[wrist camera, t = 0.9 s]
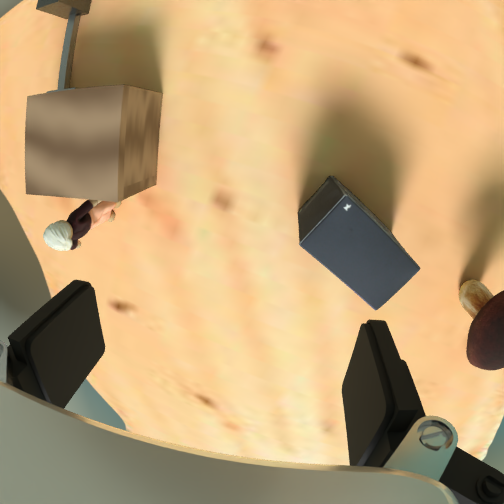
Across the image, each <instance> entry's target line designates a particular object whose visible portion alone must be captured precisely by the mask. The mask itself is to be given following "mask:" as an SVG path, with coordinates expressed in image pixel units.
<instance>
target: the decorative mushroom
mask: <svg viewBox="0 0 504 504" xmlns="http://www.w3.org/2000/svg"><path fill="white" fill-rule="evenodd" d="M459 300H460V302H461V305H462V306H463V307H464V309H465V310H466V311H467V312H468V313H469V314H470V315H471V317H472V318H473V319H474V320H473V321H472V323H471V326H470V329H469V333H468V340H467V351H466V352H467V358H468V360H469V362H470V363H471V364H472V365H474V366H476V367H478V368H481V369H485V370H497V369H501V368H504V291H501V292H500V293H498V294H497V295H495V296H493V295H492V293H491V292H490V291H489V290H488V289H487V288H486V287H485V286H484V285H483V284H482V283H481V282H480V281H477V280H468V281H466V282H464V283H463V285H462V286H461V288H460V291H459Z"/></svg>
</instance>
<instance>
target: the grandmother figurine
mask: <svg viewBox="0 0 504 504" xmlns="http://www.w3.org/2000/svg"><path fill="white" fill-rule="evenodd" d="M120 205H121V201H120V202H109V201H99V200H87V201H85V202H84V203H83V204H82V205H81V206H80V207H79V208H77V209H76V210H74V211H73V212H72V213H71V214H70V215H69V217H68V219H67V221H64V220H60V221H57V222H55V223H54V224H53V223H52V224H50V225H49V226H48V227H47V228H46V230H45V232H44V234H43V237H44V240H45V242H46V243H47V245H48V246H49V247H51V248H53V249H56V250H59V251H63V250H66V251H67V250H70V249H71V250H74V249H75V248H79V247H80V246H81V242H80V241H79V240H78V239H79V238H81V237H83V236H84V235H85V234H86V233H87V232H88V231H89V230H90V229H92V228H94V227H96V226H98V225H99V224H101V223H103V222H105V221H109V222H112V221H113V220H114V218H115V213H114V212H113V211H112V209H113V208H118V207H119V206H120Z"/></svg>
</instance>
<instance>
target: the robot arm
mask: <svg viewBox="0 0 504 504" xmlns="http://www.w3.org/2000/svg"><path fill="white" fill-rule="evenodd" d="M8 339H9V342H10V345H9V346H8V347H7V345H6V344H5V342H3V341H1V340H0V504H504V474H502V473H501V472H500V471H498V470H496V469H495V468H493V467H491V466H489V465H487V464H486V463H484V462H482V461H480V460H479V459H477V458H475V457H473V456H472V455H470V454H468V453H467V452H465V451H463V450H461V449H460V448H458V447H456V446H457V442H458V435H457V432H456V430H455V428H454V427H453V426H452V424H451V423H450V422H448V421H447V420H445V419H443V418H440V417H437V416H426V415H425V412H424V409H423V407H422V404H421V401H420V398H419V395H418V393H417V390H416V387H415V384H414V382H413V379H412V376H411V374H410V371H409V369H408V366H407V364H406V362H405V361H404V360H401V359H400V356H399V353H398V351H397V348H396V346H395V343H394V341H393V338H392V336H391V333H390V331H389V328H388V326H387V323H386V321H382V320H368V321H367V323H366V324H364V323H363V324H362V325H361V327H360V330H359V334H358V337H357V340H356V344H355V347H354V350H353V353H352V357H351V360H350V363H349V366H348V369H347V372H346V375H345V378H344V381H343V385H342V397H343V405H344V413H345V421H346V430H347V440H348V450H349V460H350V466H345V465H321V464H305V463H292V462H282V461H271V460H262V459H254V458H247V457H239V456H233V455H227V454H221V453H215V452H210V451H205V450H199V449H195V448H190V447H185V446H181V445H176V444H172V443H168V442H164V441H160V440H156V439H152V438H149V437H145V436H141V435H138V434H134V433H131V432H128V431H124V430H121V429H118V428H115V427H111V426H109V425H106V424H103V423H100V422H97V421H94V420H91V419H89V418H86V417H83V416H80V415H78V414H75V413H73V412H70V411H67V410H65V409H64V408H65V406H66V405H67V403H68V402H69V401H70V399H71V398H72V396H73V395H74V394H75V392H76V391H77V389H78V388H79V387H80V385H81V384H82V382H83V381H84V380H85V378H86V377H87V376H88V374H89V373H90V372H91V370H92V369H93V368H94V366H95V365H96V364H97V362H98V361H99V359H100V358H101V357H102V355H103V354H104V351H105V343H104V339H103V334H102V329H101V324H100V319H99V313H98V308H97V302H96V296H95V290H94V288H93V287H91V284H90V283H89V282H86V281H81V280H74V281H72V282H71V283H70V284H69V285H67V286H66V287H65V288H64V289H63V290H61V291H60V292H59V293H58V294H57V295H55V296H54V297H53V298H52V299H51V300H50V301H48V302H47V303H46V304H45V305H44V306H42V307H41V308H40V309H39V310H38V311H37V312H35V313H34V314H33V315H32V316H31V317H30V318H29V319H28V320H27V321H25V322H24V323H23V324H22V325H21V326H20V327H18V328H17V329H16V330H15V331H14V332H13V333H12V334H11V335H10V336H9V337H8Z"/></svg>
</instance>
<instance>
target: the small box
mask: <svg viewBox="0 0 504 504" xmlns="http://www.w3.org/2000/svg"><path fill="white" fill-rule="evenodd" d="M298 223H299V241H300V242H299V245H300V246H301V247H302V248H303V249H305V250H306V251H307V252H308V253H309V254H311V255H312V256H313V257H314V258H315V259H317V260H318V261H319V262H320V263H321V264H323V265H324V266H325V267H326V268H327V269H328V270H330V271H331V272H332V273H333V274H334V275H336V276H337V277H338V278H339V279H340V280H341V281H342V282H344V283H345V284H346V285H347V286H348V287H349V288H351V289H352V290H353V291H354V292H355V293H356V294H357V295H359V296H360V297H361V298H362V299H363V300H364V301H365V302H366V303H368V304H369V305H370V306H371V307H372V308H373V309H374V310H378V309H379V308H380V307H381V306H382V305H384V304H385V303H386V302H387V301H388V300H389V299H390V298H391V297H392V296H393V295H394V294H395V293H397V292H398V291H399V290H400V289H401V288H402V287H403V286H404V285H405V284H406V283H407V282H408V281H409V280H410V279H411V278H412V277H413V276H414V275H415V274H416V273H417V272H418V271H419V270H420V267H419V266H418V265H417V264H416V262H415V261H414V260H413V259H412V258H411V257H410V256H409V255H408V253H407V252H406V251H405V249H404V248H403V247H402V246H401V244H400V243H399V242H398V241H397V239H396V238H395V237H394V235H393V234H392V232H391V231H389V229H388V228H387V227H386V226H385V225H384V224H383V223H382V222H381V221H380V220H379V219H378V218H377V217H376V216H375V215H374V214H373V213H372V212H371V211H370V210H369V209H368V208H367V207H366V206H365V205H364V204H363V203H362V202H361V201H360V200H359V199H358V198H357V197H356V196H355V195H353V194H352V192H351V191H349V190H348V189H347V188H346V187H345V186H344V185H342V184H341V183H340V182H339V181H338V180H337V179H336V178H335V177H334V176H329V178H327V180H326V181H325V183H324V184H322V186H321V187H320V188H319V189H318V191H317V192H316V193H315V194H314V195H313V196H312V197H311V198H310V199H309V201H307V202H306V203H305V204H304V205H303V207H302V208H301V210H300V211H299V212H298Z"/></svg>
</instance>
